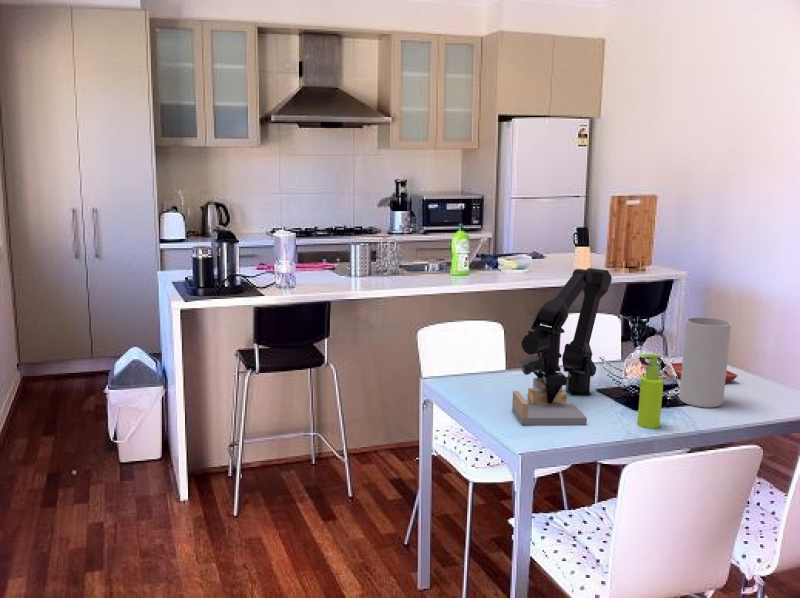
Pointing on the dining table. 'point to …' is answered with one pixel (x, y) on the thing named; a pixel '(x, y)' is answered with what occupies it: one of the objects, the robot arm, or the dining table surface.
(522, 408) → the l-shaped bookend
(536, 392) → the glass caddy
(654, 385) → the soap dispenser
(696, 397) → the cylinder vase
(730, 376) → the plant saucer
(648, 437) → the dining table surface
